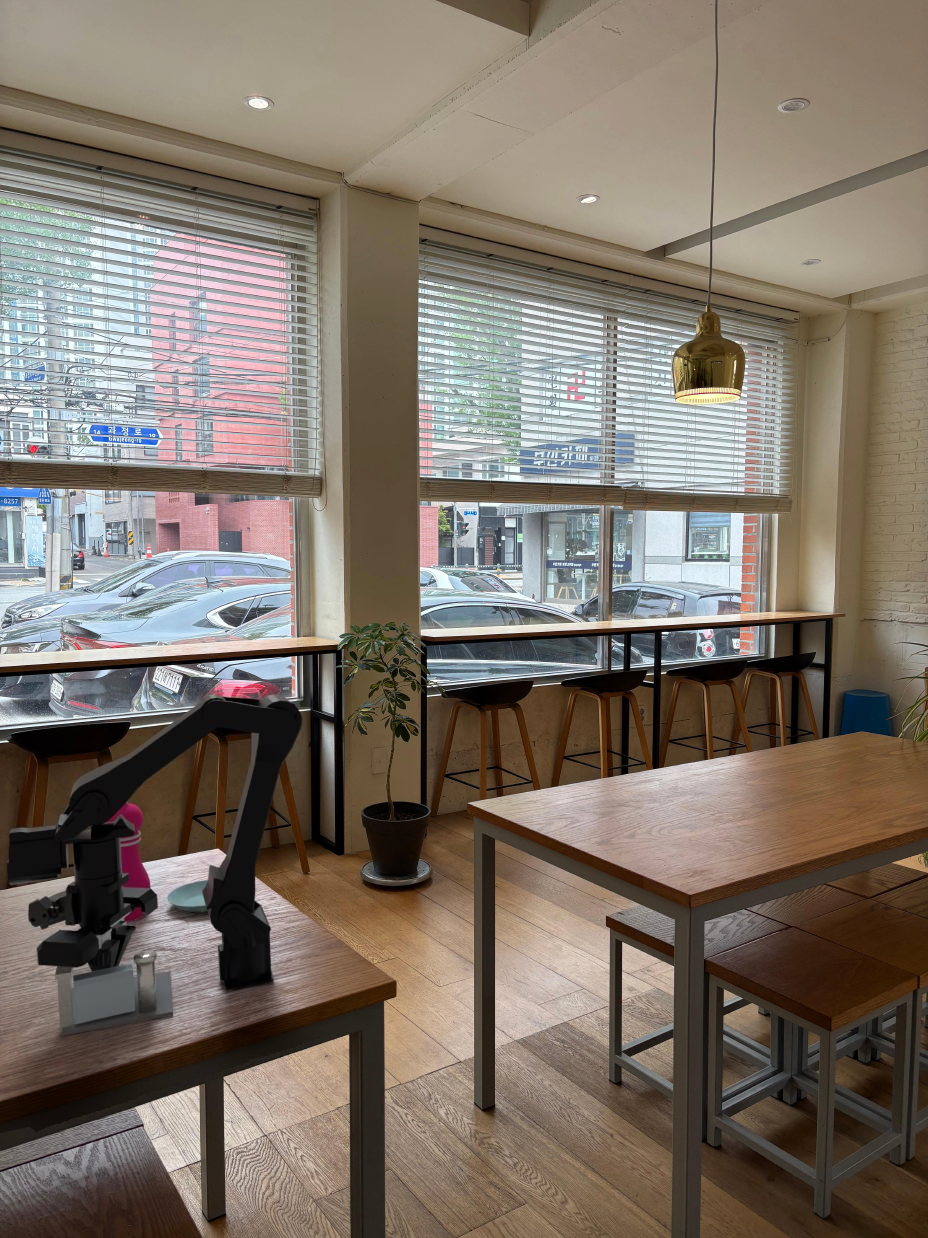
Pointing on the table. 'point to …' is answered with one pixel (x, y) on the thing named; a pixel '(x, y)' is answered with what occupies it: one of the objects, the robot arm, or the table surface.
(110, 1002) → the gate
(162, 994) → the mat
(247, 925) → the robot arm
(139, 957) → the hinge post
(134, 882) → the pepper mill
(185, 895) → the saucer
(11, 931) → the table surface
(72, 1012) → the latch post
